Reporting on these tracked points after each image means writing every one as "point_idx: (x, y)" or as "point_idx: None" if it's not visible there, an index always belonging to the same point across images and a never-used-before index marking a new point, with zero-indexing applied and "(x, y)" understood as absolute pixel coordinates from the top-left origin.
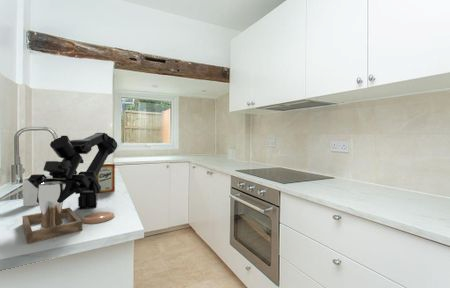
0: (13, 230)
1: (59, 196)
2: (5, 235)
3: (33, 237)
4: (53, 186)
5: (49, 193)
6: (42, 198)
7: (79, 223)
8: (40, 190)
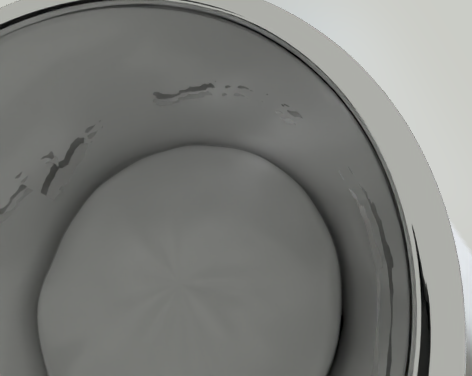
0: (467, 323)
1: (75, 199)
2: (459, 242)
3: None
4: (25, 50)
5: (151, 102)
6: (255, 147)
7: None
8: (290, 102)
